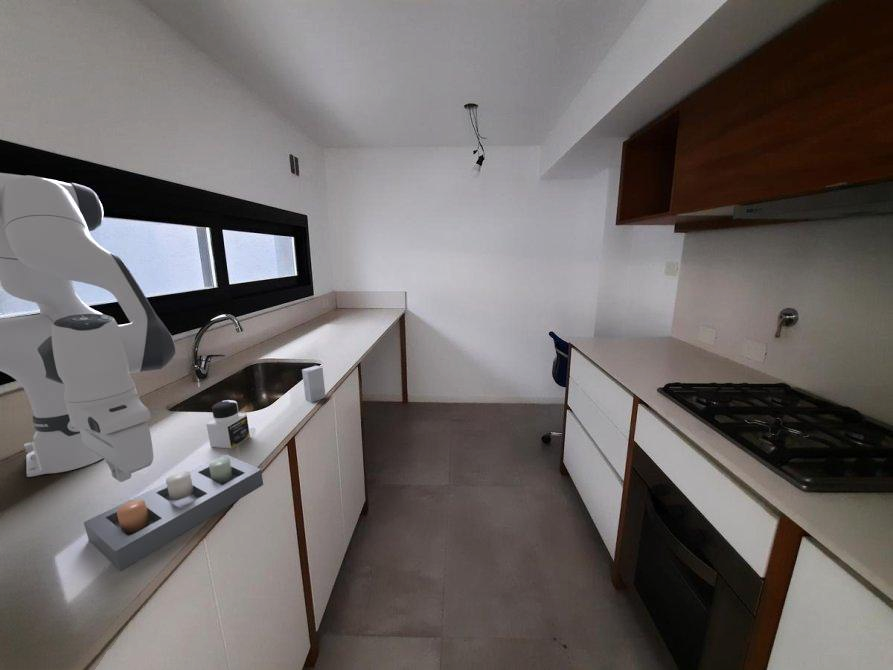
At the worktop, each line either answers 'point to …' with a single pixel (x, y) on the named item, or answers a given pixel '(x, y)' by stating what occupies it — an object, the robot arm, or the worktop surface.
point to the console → (170, 513)
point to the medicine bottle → (227, 425)
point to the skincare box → (313, 383)
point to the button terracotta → (133, 516)
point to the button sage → (221, 470)
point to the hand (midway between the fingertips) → (122, 478)
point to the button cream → (179, 485)
